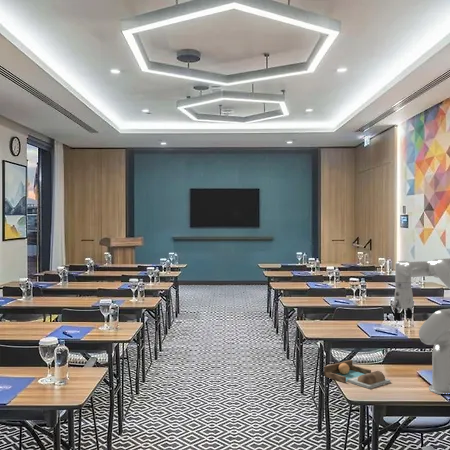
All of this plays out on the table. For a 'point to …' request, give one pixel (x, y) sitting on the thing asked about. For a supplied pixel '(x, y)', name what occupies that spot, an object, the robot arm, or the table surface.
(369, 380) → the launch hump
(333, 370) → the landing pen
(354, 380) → the grey base plate
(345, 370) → the ball
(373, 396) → the table surface
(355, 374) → the mat
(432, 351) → the robot arm
